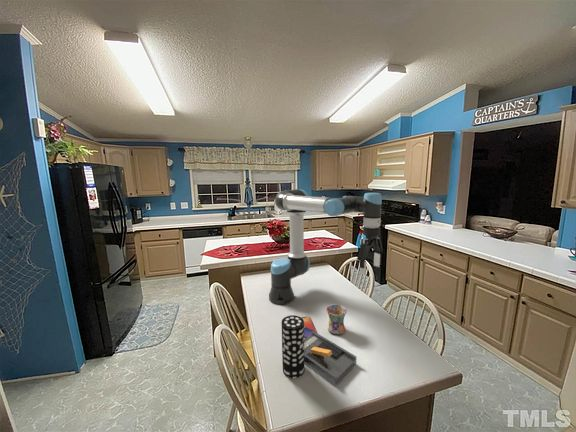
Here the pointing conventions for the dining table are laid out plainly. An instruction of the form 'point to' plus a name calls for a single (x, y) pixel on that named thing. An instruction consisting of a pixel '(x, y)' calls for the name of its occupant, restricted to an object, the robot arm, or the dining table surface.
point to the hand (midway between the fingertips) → (369, 270)
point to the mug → (336, 318)
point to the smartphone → (308, 326)
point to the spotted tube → (293, 346)
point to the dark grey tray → (328, 359)
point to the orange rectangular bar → (321, 351)
